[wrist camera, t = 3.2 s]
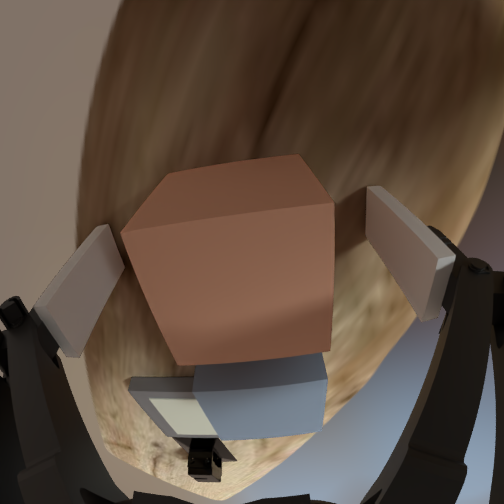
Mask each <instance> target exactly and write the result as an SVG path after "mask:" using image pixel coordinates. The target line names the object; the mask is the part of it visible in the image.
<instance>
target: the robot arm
mask: <svg viewBox="0 0 504 504" xmlns="http://www.w3.org/2000/svg"><path fill="white" fill-rule="evenodd" d="M365 236H366V238H367V239H368V240H369V242H370V243H371V245H372V246H373V248H374V249H375V250H376V252H377V253H378V255H379V256H380V258H381V259H382V261H383V262H384V264H385V265H386V267H387V268H388V270H389V271H390V273H391V274H392V276H393V277H394V279H395V280H396V282H397V283H398V285H399V286H400V288H401V290H402V291H403V293H404V294H405V296H406V298H407V299H408V301H409V302H410V304H411V306H412V307H413V309H414V311H415V312H416V314H417V316H418V317H419V319H420V321H421V322H424V321H428V320H431V319H435V318H438V316H439V312H440V310H441V307H442V306H443V307H444V309H445V310H446V315H445V318H444V320H443V324H442V326H441V329H440V331H439V334H440V335H439V339H438V342H437V346H436V349H435V352H434V356H433V358H432V361H431V364H430V367H429V370H428V373H427V376H426V378H425V381H424V384H423V386H422V389H421V391H420V394H419V396H418V399H417V401H416V404H415V406H414V409H413V411H412V413H411V415H410V418H409V420H408V422H407V424H406V426H405V428H404V430H403V433H402V435H401V437H400V439H399V441H398V443H397V445H396V447H395V449H394V450H393V452H392V454H391V456H390V458H389V460H388V462H387V463H386V465H385V467H384V469H383V470H382V472H381V474H380V475H379V477H378V479H377V480H376V481H375V483H374V484H373V486H372V487H371V488H370V490H369V491H368V493H367V494H366V495H365V497H364V498H363V500H362V501H361V503H360V504H455V503H456V500H457V498H458V496H459V493H460V491H461V489H462V486H463V484H464V481H465V478H466V475H467V466H466V464H465V463H464V457H465V453H466V450H467V447H468V444H469V441H470V438H471V435H472V431H473V428H474V424H475V420H476V417H477V413H478V409H479V405H480V400H481V396H482V391H483V385H484V381H485V375H486V369H487V362H488V356H489V348H490V345H491V352H492V360H493V370H494V380H495V397H496V442H495V443H496V444H495V458H494V469H493V477H492V485H491V492H490V501H489V504H504V272H501V271H493V270H492V268H491V267H490V265H489V264H487V263H486V262H485V261H483V260H480V259H478V258H467V257H466V256H465V255H464V254H463V253H462V252H461V251H460V250H459V249H458V248H457V247H456V246H455V245H454V244H453V243H452V242H451V241H450V240H449V239H448V238H446V236H445V235H444V234H443V233H442V232H441V231H439V230H438V229H436V228H434V227H432V226H426V225H425V224H424V223H423V222H422V221H421V220H419V219H418V218H417V217H416V216H415V215H414V214H413V213H412V212H411V211H410V210H408V209H407V208H406V207H405V206H404V205H403V204H402V203H400V202H399V201H398V200H397V199H396V198H395V197H394V196H392V195H391V194H390V193H389V192H388V191H386V190H385V189H384V188H383V187H382V186H368V187H367V198H366V229H365ZM124 268H125V266H124V264H123V261H122V259H121V256H120V254H119V251H118V248H117V246H116V243H115V240H114V238H113V235H112V232H111V229H110V227H109V224H105V225H101V226H97V227H96V228H95V229H94V230H93V231H92V232H91V234H90V235H89V236H88V237H87V238H86V239H85V240H84V242H83V243H82V244H81V245H80V246H79V248H78V249H77V250H76V251H75V252H74V254H73V255H72V256H71V257H70V259H69V260H68V261H67V262H66V263H65V265H64V266H63V267H62V268H61V270H60V271H59V272H58V274H57V275H56V276H55V278H54V279H53V280H52V282H51V283H50V284H49V286H48V287H47V288H46V290H45V291H44V292H43V294H42V295H41V296H40V298H39V299H38V301H37V302H36V304H35V305H34V306H33V308H32V309H31V311H30V312H29V313H28V311H27V309H26V308H25V306H24V304H23V302H22V301H21V299H20V297H19V296H14V297H12V298H9V299H8V300H6V301H5V302H4V303H3V304H2V305H1V306H0V319H1V321H2V322H3V324H4V325H5V327H6V328H7V330H4V331H1V330H0V370H1V371H2V372H3V373H4V374H3V378H2V377H1V376H0V504H193V503H190V502H187V501H184V500H181V499H178V498H175V497H172V496H163V495H156V494H149V493H142V492H137V491H134V494H133V499H129V498H128V497H127V496H126V495H125V494H124V493H123V492H122V491H121V490H120V489H119V488H118V487H117V486H116V485H115V483H114V482H113V480H112V478H111V477H110V475H109V473H108V471H107V470H106V468H105V466H104V464H103V462H102V460H101V458H100V456H99V454H98V452H97V450H96V448H95V446H94V444H93V442H92V440H91V438H90V435H89V433H88V431H87V429H86V427H85V424H84V422H83V420H82V417H81V415H80V412H79V410H78V408H77V405H76V402H75V400H74V397H73V394H72V392H71V389H70V386H69V383H68V380H67V377H66V374H65V371H64V368H63V365H62V362H61V359H60V357H59V356H58V355H57V351H58V349H59V347H60V348H61V349H62V351H63V353H64V354H65V355H66V357H80V356H81V354H82V352H83V349H84V347H85V345H86V343H87V341H88V339H89V336H90V334H91V332H92V330H93V328H94V326H95V324H96V322H97V320H98V318H99V316H100V314H101V312H102V310H103V308H104V306H105V304H106V302H107V300H108V298H109V296H110V294H111V292H112V290H113V289H114V287H115V285H116V283H117V281H118V279H119V277H120V276H121V274H122V272H123V270H124ZM245 504H335V503H331V502H326V501H320V500H310V495H309V494H305V495H297V496H288V497H278V498H265V499H260V500H256V501H253V502H249V503H245Z"/></svg>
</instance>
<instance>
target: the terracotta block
mask: <svg viewBox="0 0 504 504" xmlns="http://www.w3.org/2000/svg"><path fill="white" fill-rule="evenodd" d="M120 234H121V237H122V240H123V242H124V245H125V248H126V250H127V253H128V256H129V258H130V261H131V263H132V266H133V268H134V271H135V273H136V276H137V278H138V281H139V283H140V286H141V288H142V290H143V293H144V295H145V297H146V300H147V302H148V304H149V307H150V309H151V311H152V313H153V315H154V318H155V320H156V322H157V324H158V326H159V328H160V331H161V333H162V335H163V337H164V339H165V341H166V343H167V345H168V347H169V349H170V351H171V353H172V355H173V357H174V359H175V361H176V363H177V365H178V366H182V365H206V364H222V363H236V362H247V361H258V360H267V359H276V358H285V357H292V356H300V355H307V354H314V353H320V352H326V351H330V347H331V333H332V316H333V295H334V258H335V216H334V201H333V200H332V199H331V197H330V196H329V194H328V193H327V192H326V190H325V189H324V187H323V186H322V185H321V183H320V182H319V180H318V179H317V178H316V176H315V175H314V174H313V172H312V171H311V170H310V168H309V167H308V166H307V164H306V163H305V162H304V160H303V159H302V158H301V156H300V155H299V154H292V155H283V156H274V157H266V158H258V159H250V160H243V161H236V162H230V163H223V164H217V165H211V166H205V167H199V168H194V169H188V170H183V171H178V172H173V173H168V174H167V175H166V176H165V177H164V178H163V180H162V181H161V182H160V183H159V184H158V185H157V187H156V188H155V189H154V190H153V191H152V193H151V194H150V195H149V196H148V198H147V199H146V200H145V201H144V203H143V204H142V205H141V206H140V208H139V209H138V210H137V211H136V213H135V214H134V215H133V216H132V218H131V219H130V220H129V222H128V223H127V224H126V226H125V227H124V228H123V230H122V231H121V232H120Z"/></svg>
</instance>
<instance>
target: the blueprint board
mask: <svg viewBox="0 0 504 504" xmlns="http://www.w3.org/2000/svg"><path fill="white" fill-rule="evenodd" d="M193 381H194V377H132V378H131V381H130V385H129V388H128V391H129V393H130V394H131V395H132V396H133V398H134V399H135V400H136V401H137V403H138V404H139V405H140V406H141V408H142V409H143V410H144V411H145V412H146V413H147V415H148V416H149V417H150V418H151V419H152V420H153V421H154V423H155V424H156V425H157V426H158V427H159V428H160V429H161V430H162V432H163V433H164V434H165V435H166V436H167V437H188V438H219V436H218V434H217V433H216V431H215V430H214V428H213V426H212V425H211V423H210V422H209V420H208V418H207V417H206V415H205V413H204V412H203V410H202V408H201V406H200V405H199V403H198V401H197V400H196V398H195V396H194V394H193V393H192V389H193Z"/></svg>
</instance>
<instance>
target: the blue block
mask: <svg viewBox="0 0 504 504" xmlns="http://www.w3.org/2000/svg"><path fill="white" fill-rule="evenodd" d="M327 383H328V377H327V373H326V369H325V364H324V360H323V356H322V352H320V353H314V354H307V355H300V356H292V357H285V358H276V359H267V360H258V361H247V362H236V363H222V364H206V365H196V366H195V374H194V381H193V389H192V393H193V394H194V396H195V398H196V400H197V401H198V403H199V405H200V406H201V408H202V410H203V412H204V413H205V415H206V417H207V418H208V420H209V422H210V423H211V425H212V426H213V428H214V430H215V431H216V433H217V434H218V436H219V438H220V439H221V440H246V439H261V438H273V437H283V436H291V435H299V434H306V433H313V432H319V431H322V425H323V417H324V409H325V401H326V392H327Z"/></svg>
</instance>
